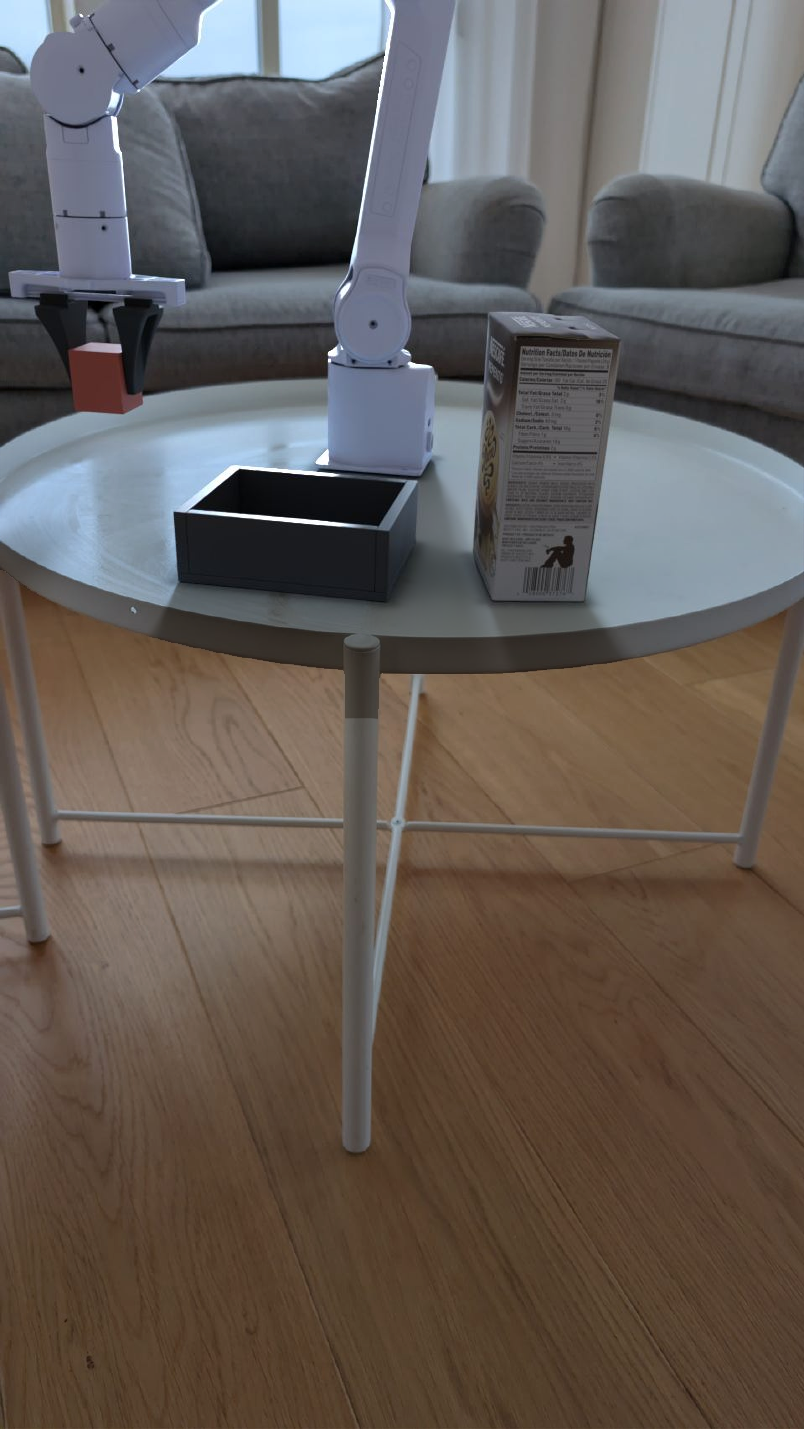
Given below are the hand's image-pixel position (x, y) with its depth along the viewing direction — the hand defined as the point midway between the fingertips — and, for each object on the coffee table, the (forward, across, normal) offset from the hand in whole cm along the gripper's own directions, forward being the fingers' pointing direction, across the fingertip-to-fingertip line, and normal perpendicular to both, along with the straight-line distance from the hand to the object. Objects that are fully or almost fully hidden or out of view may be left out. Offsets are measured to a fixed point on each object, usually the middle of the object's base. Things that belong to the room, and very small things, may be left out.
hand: (107, 391), depth 89 cm
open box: (+6, +23, -22) cm, 32 cm away
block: (+1, 0, 0) cm, 1 cm away
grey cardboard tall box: (+6, +38, -20) cm, 44 cm away
